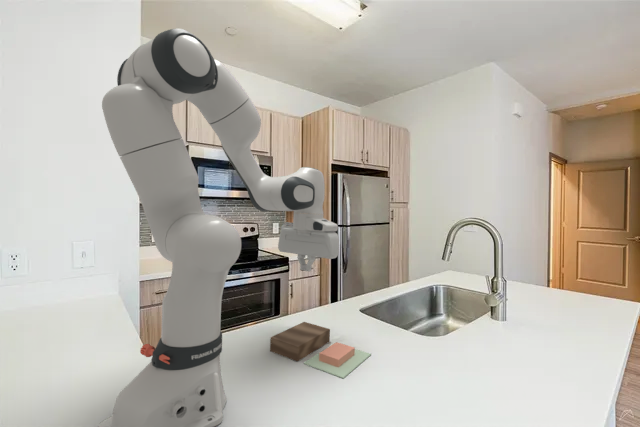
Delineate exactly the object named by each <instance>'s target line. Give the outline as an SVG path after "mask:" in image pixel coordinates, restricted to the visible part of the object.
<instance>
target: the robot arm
mask: <svg viewBox="0 0 640 427" xmlns="http://www.w3.org/2000/svg"><path fill="white" fill-rule="evenodd" d="M116 76H117V78H116V79H117V80H116V82H117V85H116V86H114V87H112V88H111V89H110V90H108V91H107V92H106V93H105V95H104V96H103V98H102V102H101V108H102V112H103V116H104V120H105V124H106V126H107V130H108V133H109V135H110V138H111V140H112V143H113V145H114V149H115V150H116V152H117V155H118V157H119V159H120V160H121V163H122V165H123V168H125V171H126V174H127V175H128V177H129V179H130V181H131V183H132V185H133V187H134V189H135V191H136V193H137V195H138V198H139V200H140V203H141V205H142V209H143V212H144V215H145V219H146V221H147V225H148V227H149V230H150V233H151V235H152V238H153V241H154V244H155V247H156V248H157V251H158V252H159V254H160V255H161V256H162V257H163V258H164V259H165V260H167V261H168V262H170V263H172V264H171V265H172V267H171V268H172V269H171V275H170V279H169V283H168V287H167V290H166V294H165V295H164V296H163V298H162V305H161V307H162V308H161V336H160V338H159V340H158V342H157V344H156V347H154V345H151V344H150V343H145V344H142V346H141V347H140V350H139V352H140V354H141V355H142V356H145V357H146V358H150V357H151V358H150V359H151V360H150V362H149V363H148V364H147V365H146V366H145V367H144V368H143V369H142V370H140V372H139V373H138V374H137V375H136V376H135V377H134V378H133V379H132V380H131V381H130V382H129V383H128V384H127V385H126V386H125V387H124V388H122V389H121V391H120V392H119V393H118V395H117V397H116V400H115V402H114V406H113V411H112V415H111V416H109V417H108V418H106V419H104V420H103V421H101V422H100V423H99V424H98V426H97V427H216V426H218V425H219V424H221V423H223V418H224V416H223V410H224V408H225V406H226V403H227V395H226V392H225V389H224V383H223V378H222V368H221V367H222V366H221V353H222V351H223V333H222V330H221V322H222V319H221V317H222V315H221V314H222V300H223V293H224V287H225V285H226V281H227V278H228V274H229V272H230V269H231V268H232V266H233V265H235V263H236V262H237V260H238V259H239V257H240V255H241V252H242V238H241V235H240V233H239V231H238V230H237V228H236V227H235V226H234V225H233V224H231V223H230V222H228V221H227V220H225V219H223V218H221V217H220V216H217V215H213V214H206V213H205V211H204V210H203V207H202V203H201V199H200V193H199V182H200V181H199V175H198V173H197V170H196V168H195V166H194V163H193V161H192V160H193V159H192V158H191V155H190V153H189V151H188V149H187V147H186V144H185V142H184V140H183V136H182V135H181V132H180V130H179V128H178V125H177V124H176V122H175V119H174V114H173V107H174V105H177V104H180V103H183V102H184V101H187V102H189V103H191V104H192V105H193V106H195V107H196V108H197V109H198V111H200V114H202V117H203V118H204V119H205V121H206V122H207V123H208V125H209V126H210V127H211V129H212V131H214V133H215V134H216V136H217V138H218V140H219V141H220V143H221V144H220V145H221V148H222V149H223V153H224V154H225V156H226V158H227V160H228V162H230V164H231V165H232V167H233V170H235V172H236V174H237V175H238V177H239V178H240V180H241V181H242V183H243V186H244V187H245V188H246V190H247V194H248V198H249V200H250V202H251V204H252V206H253V207H254V208H255V209H256V210H258V211H260V212H265V213H266V212H293V221H292V222H288V221H286V222H284V223H283V224H282V225H281V226H280V233H279V237H278V242H277V243H278V244H277V248H278V250H279V252H281V253H287V254H295V255H297V261H298V263H299V266H300V267H299V270H301V271H305V272H311V271H312V266H313V264H314V262H315V261H316V258H320V259H327V260H332V259H336V258H337V257H338V256H339V253H340V251H339V250H340V239H339V234H338V233H337V231H338V229H339V226H338V224H337V223H335V222H333V221H332V220H331V221H330V220H328V219H326V218H324V209H323V206H324V201H325V195H326V193H325V190H326V187H325V186H326V184H325V177H324V173H323V172H322V171H321V170H320V169H318V168H315V167H310V166H303V167H299V168H298V169H297V171H295V172H293V173H290V174H287V175H283V176H269V175H267V174H266V173H264V172H263V170H262V169H261V167H260V165H259V163H258V161H257V160H256V158H255V156H254V155H253V153H252V149H251V145H252V143H253V142H254V141H255V140H256V139H257V137H258V135H259V134H260V130H261V127H262V126H261V125H262V119H261V116H260V114H259V111H258V109H257V107H256V106H255V104H254V102H253V101H252V99H251V98H250V96H249V94H248V93H247V92H246V90H245V89H244V88H243V86H242V84H241V83H240V82H239V81H238V80H237V78H236V77H235V75H234V74H232V72H231V71H230V70H229V69H228V68H227V67H226V66H225V64H223V63H222V62H221V61H219V60H218V59H215V58H214V57H213V55H212V53H211V51H210V50H209V48H208V47H207V46H206V44H204V42H203V41H202V40H201V39H199V38H198V37H197V36H196V35H195V34H194V33H192V32H190V31H188V30H187V29H183V28H171V29H167V30H164V31H162V32H160V33H158V34H157V35H156V36H155V37H154V38H152V39H150V40H149V41H147V42H145V43H144V44H141V45H139V46H138V47H137V48H136V49H135V50H133V52H132V53H131V54H130V55H129V57H128V58H126V59H125V60H124V61H123V62H122V63H121V65H120V67H119V68H118V71H117V75H116ZM306 257H307V258H306ZM305 258H306V259H307V263H306V260H305Z"/></svg>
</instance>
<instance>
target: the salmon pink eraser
mask: <svg viewBox="0 0 640 427" xmlns="http://www.w3.org/2000/svg"><path fill="white" fill-rule="evenodd" d="M332 344H333V345H332ZM332 344H331V345H329V346H330V347H329V346H328V347H326V348H324V349H323V350H322V352H321V351H320V352H318V353H319V361H322V362H324V363H327V364H330V365H333V366H336V367H339V366H341V365H342V364H343V363H345V362H346V361H347V360H348V359H350V358H351V357H352V356H354V355H355V349H356V348H355V347H354V346H351V345H347V344H344V343H340V342H338V341H337V342H334V343H332Z"/></svg>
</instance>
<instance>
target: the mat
mask: <svg viewBox="0 0 640 427" xmlns="http://www.w3.org/2000/svg"><path fill="white" fill-rule="evenodd" d="M333 344H334V343H332V344H331V345H333ZM331 345H329V346H328V347H330V346H331ZM322 351H323V350H322ZM322 351H320V352H322ZM320 352H318V353H316V354H315V355H314V356H312V357H310V358H309V359H308V360H305V361H304V362H303V364H304V365H306V366H308V367H311V368H314V369H316V370H319V371H321V372H323V373H327V374H329V375H332V376H334V377H337V378H339V379H343V380H344V379H345V378H347V376H349V375H350V374H351V373H352V372H353V371H354V370H356V369H357V367H359V366H360V365H361V364H363V363H364V361H366V360H367V359H368V358H369V357H370V356H371V355H372V353H369V352H367V351H363V350H360V349H357V348H355V355H354V356H352V357H351V358H350V359H348V360H347V361H346V362H345V363H343V364H342V365H341V366H339V367H336V366H333V365H330V364H327V363H324V362H322V361H319V353H320Z"/></svg>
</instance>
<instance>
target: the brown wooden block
mask: <svg viewBox="0 0 640 427" xmlns="http://www.w3.org/2000/svg"><path fill="white" fill-rule="evenodd" d="M330 335H331V329H330V328H329V327H328V328H327V327H323V326H320V325H317V324H313V323H310V322H306V321H302V322H301V323H299V324H296V325H294V326H291V327H290V328H287V329H286V330H283V331H281V332H279V333H276V334H274V335H272V336H270V337H269V338H270V341H269V342H270V343H269V352H271V353H274V354H275V355H279V356H280V357H285V358H287V359H289V360H292V361H295V362H297V363H298V362H299V361H301V360H303V359H305V358H306V357H308V356H309V355H311V354H313V353H314V352H316V351H317V350H319V349H320V348H322V347H324V346H326V345H327V344H329V343H330V341H331V340H330V339H331V336H330Z"/></svg>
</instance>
